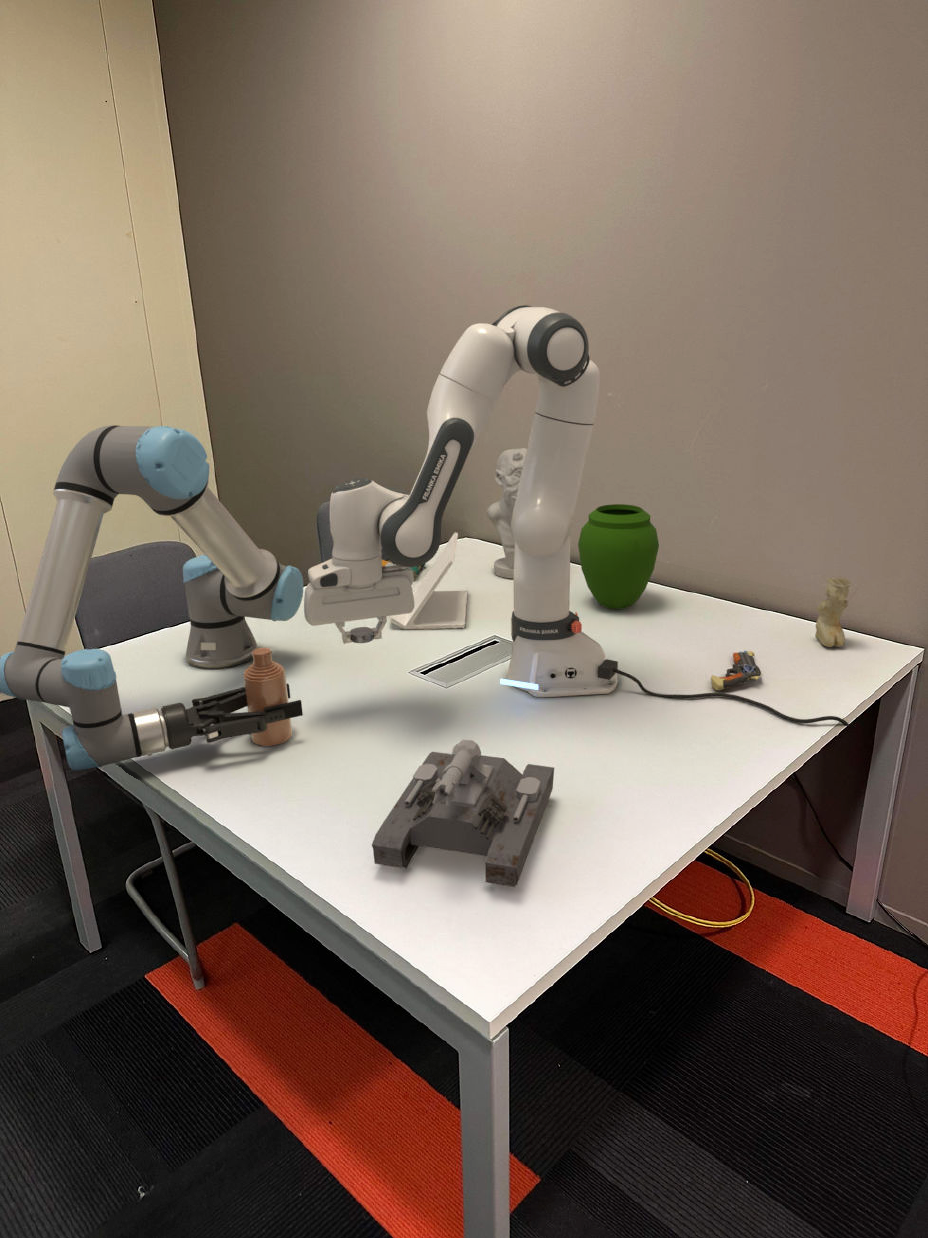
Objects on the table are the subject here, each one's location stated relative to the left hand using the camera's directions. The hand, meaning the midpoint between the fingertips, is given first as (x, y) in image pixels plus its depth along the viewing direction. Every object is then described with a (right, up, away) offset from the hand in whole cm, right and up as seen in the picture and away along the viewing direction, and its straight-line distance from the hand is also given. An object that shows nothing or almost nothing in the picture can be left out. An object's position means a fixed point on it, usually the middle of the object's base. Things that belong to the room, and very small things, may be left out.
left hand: (295, 699), depth 154 cm
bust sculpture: (+48, +27, +85) cm, 101 cm away
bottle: (-4, -7, 0) cm, 8 cm away
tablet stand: (+22, +16, +60) cm, 66 cm away
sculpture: (+111, +9, +33) cm, 116 cm away
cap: (+12, +12, +4) cm, 17 cm away
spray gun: (+13, +28, +91) cm, 96 cm away
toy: (+32, -17, -29) cm, 46 cm away
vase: (+69, +18, +60) cm, 93 cm away
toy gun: (+86, +3, +19) cm, 88 cm away
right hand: (+12, +11, +5) cm, 16 cm away
